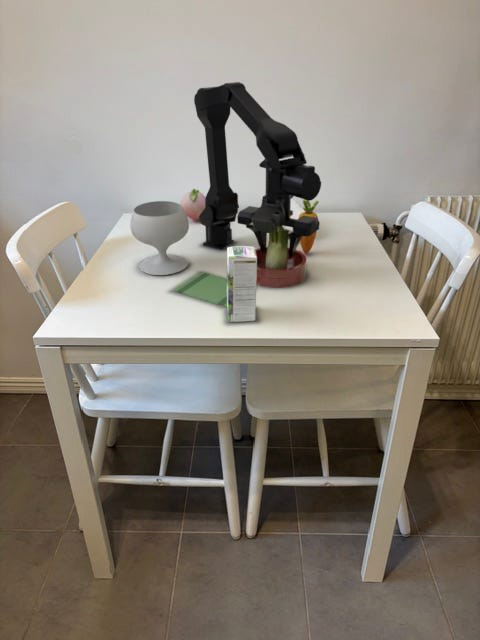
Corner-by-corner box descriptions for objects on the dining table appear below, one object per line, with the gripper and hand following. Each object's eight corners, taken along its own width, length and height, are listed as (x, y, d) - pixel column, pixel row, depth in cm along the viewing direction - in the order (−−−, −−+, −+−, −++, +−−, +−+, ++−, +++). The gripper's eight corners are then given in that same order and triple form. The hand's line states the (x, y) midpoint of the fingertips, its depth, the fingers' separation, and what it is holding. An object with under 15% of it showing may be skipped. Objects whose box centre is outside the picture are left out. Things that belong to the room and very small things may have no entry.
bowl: (234, 278, 116) (233, 262, 114) (263, 256, 127) (264, 241, 125) (288, 293, 110) (289, 276, 107) (314, 269, 120) (316, 253, 118)
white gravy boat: (319, 240, 136) (321, 215, 133) (279, 243, 135) (280, 218, 131) (297, 212, 156) (298, 190, 153) (261, 215, 155) (262, 193, 151)
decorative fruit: (181, 216, 155) (179, 185, 149) (207, 214, 155) (205, 183, 150) (181, 226, 147) (179, 193, 141) (208, 225, 147) (207, 192, 142)
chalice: (151, 252, 130) (145, 197, 122) (199, 258, 126) (196, 202, 119) (125, 274, 119) (117, 215, 111) (177, 281, 115) (172, 221, 107)
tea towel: (173, 290, 111) (173, 289, 111) (200, 272, 119) (200, 271, 119) (227, 307, 104) (227, 306, 104) (253, 287, 112) (253, 286, 112)
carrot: (317, 251, 129) (321, 196, 122) (313, 259, 125) (317, 202, 118) (298, 249, 131) (302, 195, 123) (294, 256, 127) (297, 200, 119)
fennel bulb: (289, 275, 116) (292, 228, 110) (269, 278, 115) (271, 231, 109) (280, 265, 121) (283, 220, 115) (262, 268, 120) (263, 222, 113)
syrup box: (226, 308, 104) (225, 246, 96) (253, 307, 104) (254, 245, 97) (228, 322, 99) (226, 257, 91) (256, 321, 99) (257, 256, 92)
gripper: (223, 193, 106) (225, 259, 114) (300, 206, 97) (297, 276, 105) (249, 181, 114) (249, 243, 122) (322, 192, 105) (318, 258, 113)
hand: (276, 255), depth 115 cm, fingers closed on fennel bulb, 7 cm apart
